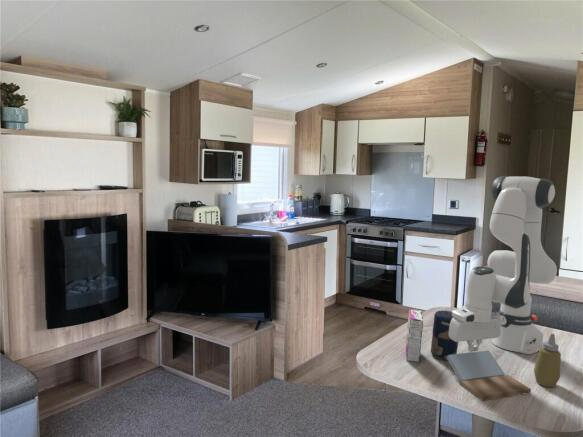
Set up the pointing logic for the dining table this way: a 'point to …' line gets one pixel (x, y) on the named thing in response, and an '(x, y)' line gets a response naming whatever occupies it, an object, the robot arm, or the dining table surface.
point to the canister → (442, 336)
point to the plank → (474, 365)
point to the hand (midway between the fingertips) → (472, 350)
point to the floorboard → (495, 387)
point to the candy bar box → (414, 335)
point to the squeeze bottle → (548, 363)
